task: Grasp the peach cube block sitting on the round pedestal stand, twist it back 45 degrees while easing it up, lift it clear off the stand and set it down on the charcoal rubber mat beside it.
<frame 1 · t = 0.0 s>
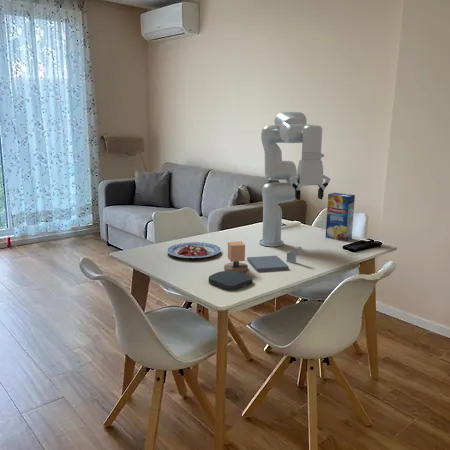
hand: (309, 199, 185), 31 cm above the table, tool pointing down, fingers open, 9 cm apart
ceramic plate: (193, 254, 217), on the table
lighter: (294, 263, 204), on the table
mat: (267, 264, 201), on the table
juice carton: (338, 238, 247), on the table
peach cube block: (236, 259, 194), point 4 cm above the table, touching round pedestal stand
round pedestal stand: (236, 269, 195), on the table
media streaming box: (230, 283, 179), on the table
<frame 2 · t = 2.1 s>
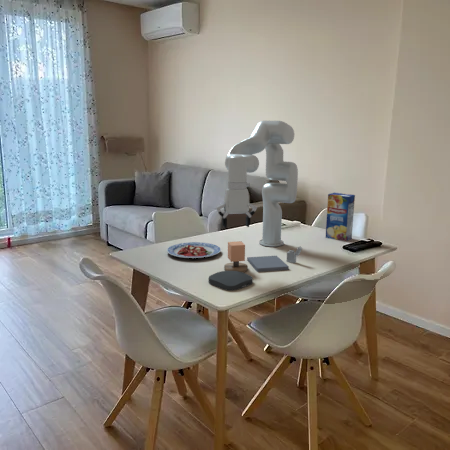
hand: (236, 226, 190), 19 cm above the table, tool pointing down, fingers open, 9 cm apart
nothing on the table moved.
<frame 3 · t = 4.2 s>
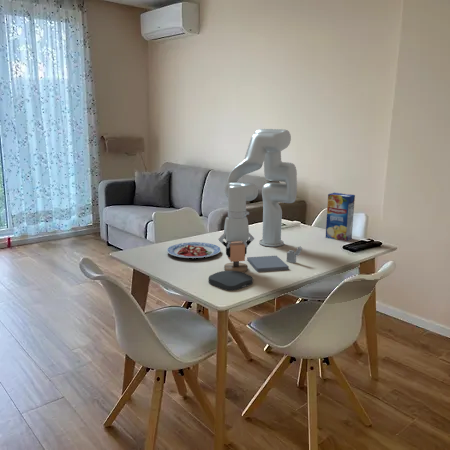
hand: (236, 255, 193), 6 cm above the table, tool pointing down, fingers closed on peach cube block, 5 cm apart
peach cube block: (236, 259, 194), point 5 cm above the table, touching gripper, round pedestal stand
everything else where it was.
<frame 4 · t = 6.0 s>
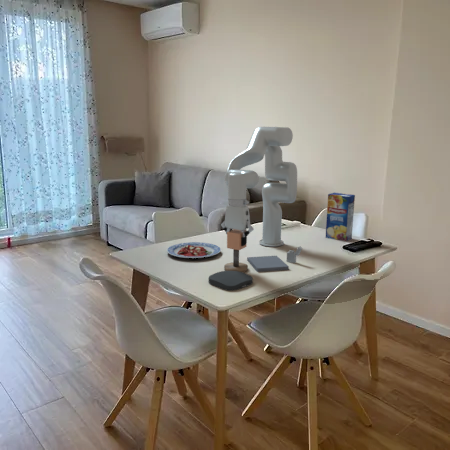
hand: (236, 243, 192), 11 cm above the table, tool pointing down, fingers closed on peach cube block, 5 cm apart
peach cube block: (236, 247, 193), point 10 cm above the table, touching gripper
everything else where it was.
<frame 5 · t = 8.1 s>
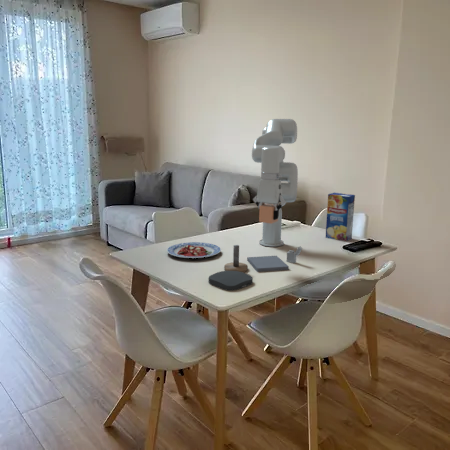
hand: (268, 217, 196), 21 cm above the table, tool pointing down, fingers closed on peach cube block, 5 cm apart
peach cube block: (268, 221, 196), point 20 cm above the table, touching gripper
everything else where it was.
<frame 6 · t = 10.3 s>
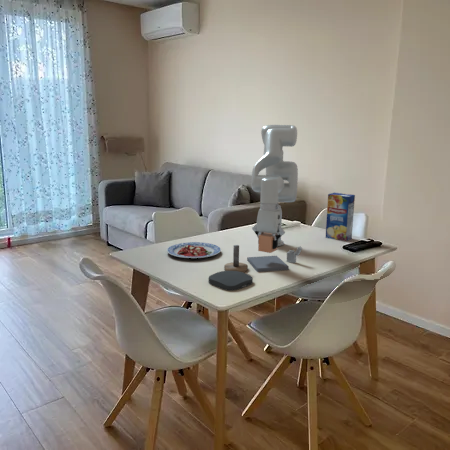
hand: (267, 246, 198), 8 cm above the table, tool pointing down, fingers closed on peach cube block, 5 cm apart
peach cube block: (267, 250, 199), point 7 cm above the table, touching gripper
everything else where it was.
when the fingers open (5 cm above the table, at t = 12.1 s): peach cube block drops 1 cm, resting on mat.
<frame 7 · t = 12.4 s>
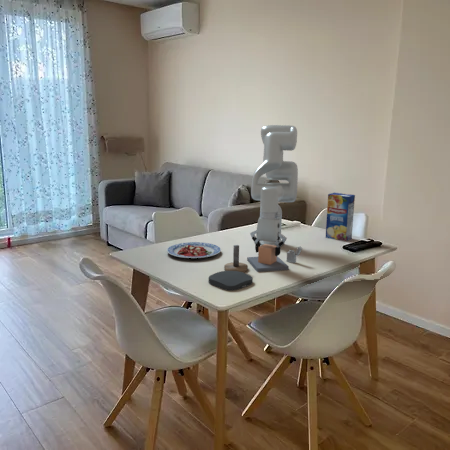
hand: (267, 253, 199), 5 cm above the table, tool pointing down, fingers open, 9 cm apart
peach cube block: (267, 261, 200), point 1 cm above the table, touching mat
everything else where it was.
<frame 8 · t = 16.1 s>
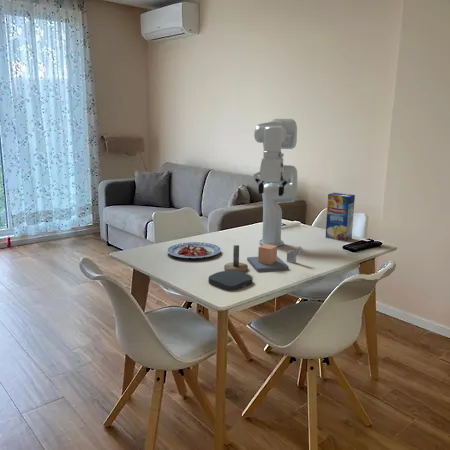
hand: (270, 194, 201), 30 cm above the table, tool pointing down, fingers open, 9 cm apart
nothing on the table moved.
at the end: peach cube block inside the target area on the mat (0.0 cm from its centre), point 1.5 cm above the mat's base; peach cube block tilted 0°; the gripper is holding nothing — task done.
